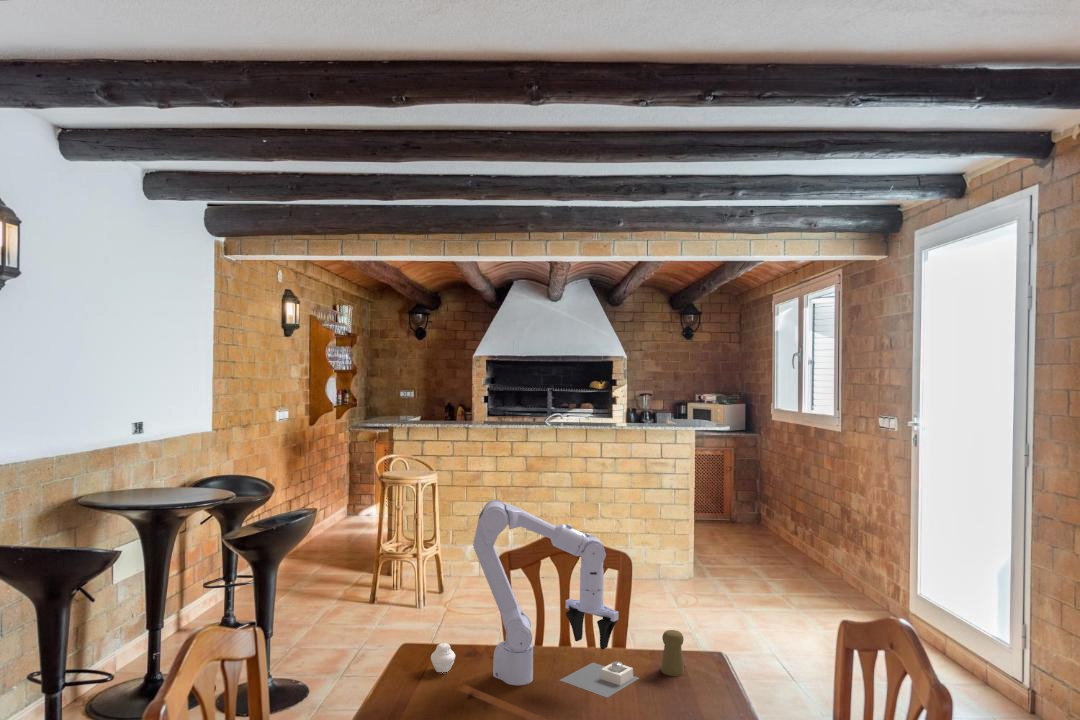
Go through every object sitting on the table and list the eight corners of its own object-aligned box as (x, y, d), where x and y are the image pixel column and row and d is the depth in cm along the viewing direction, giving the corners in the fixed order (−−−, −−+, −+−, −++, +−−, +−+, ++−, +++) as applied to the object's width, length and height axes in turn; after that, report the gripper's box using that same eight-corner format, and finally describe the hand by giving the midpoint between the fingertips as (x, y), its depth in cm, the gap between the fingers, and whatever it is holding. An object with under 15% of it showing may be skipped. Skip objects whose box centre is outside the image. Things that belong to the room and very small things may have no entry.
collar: (600, 679, 171) (601, 669, 171) (613, 671, 175) (613, 662, 175) (620, 685, 167) (620, 675, 168) (632, 678, 172) (633, 668, 172)
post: (609, 678, 171) (609, 663, 171) (615, 675, 173) (615, 660, 173) (618, 681, 170) (618, 666, 170) (624, 678, 172) (624, 663, 172)
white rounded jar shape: (449, 664, 182) (449, 636, 182) (459, 673, 176) (459, 644, 176) (426, 668, 178) (427, 641, 179) (435, 678, 173) (436, 649, 173)
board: (559, 685, 170) (559, 680, 170) (592, 667, 181) (592, 662, 181) (607, 702, 161) (607, 697, 161) (639, 682, 172) (639, 677, 172)
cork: (684, 682, 173) (685, 636, 173) (659, 679, 174) (660, 634, 174) (684, 672, 179) (685, 628, 179) (660, 669, 180) (661, 626, 180)
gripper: (625, 590, 170) (625, 646, 170) (577, 578, 180) (576, 632, 179) (609, 596, 165) (608, 655, 165) (560, 584, 174) (559, 640, 174)
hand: (591, 644), depth 172 cm, fingers open, 7 cm apart
